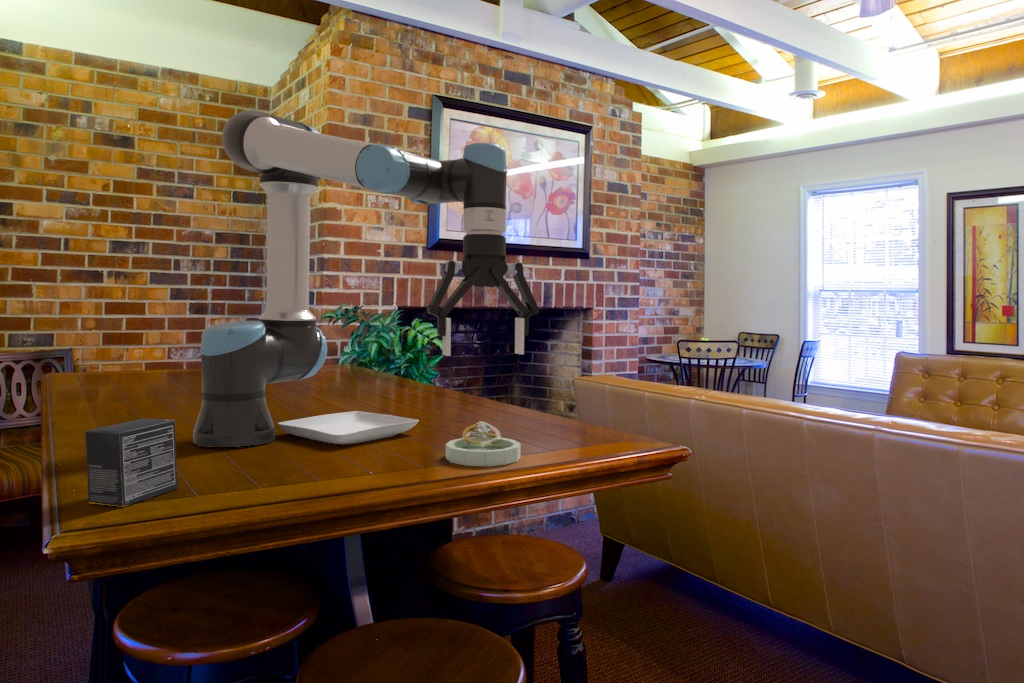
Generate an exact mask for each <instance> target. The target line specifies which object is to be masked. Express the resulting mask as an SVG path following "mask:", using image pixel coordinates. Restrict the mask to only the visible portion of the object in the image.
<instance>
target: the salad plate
mask: <svg viewBox="0 0 1024 683" xmlns="http://www.w3.org/2000/svg"><path fill="white" fill-rule="evenodd" d="M418 423H419V419H417V418H416V419H415V418H409V417H405V416H404V417H403V416H397V415H393V414H392V415H390V414H386V413H385V414H383V413H375V412H369V411H360V410H353V411H346V412H344V411H343V412H336V413H329V414H328V413H327V414H320V415H314V416H308V417H304V418H297V419H291V420H285V421H279V422H277V423H276V425H277V427H279V428H280V429H281V430H282V431H284V432H285V433H288V434H290V435H293V436H296V437H299V438H303V437H304V439H307V438H308V440H312V441H316V440H317V441H316V442H321V441H322V442H321V443H326V442H327V444H331V443H333V444H332V445H337V444H340V445H339V446H342V445H343V446H345V445H346V444H347V445H352V444H353V445H354V444H359V443H365V442H370V441H375V440H379V439H384V438H385V439H386V438H391V437H394V436H396V435H398V434H402V433H404V432H406V431H409V430H411V429H412V428H413V427H415V426H416V425H417V424H418ZM347 445H346V446H347Z"/></svg>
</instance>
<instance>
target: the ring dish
mask: <svg viewBox="0 0 1024 683" xmlns="http://www.w3.org/2000/svg"><path fill="white" fill-rule="evenodd" d="M468 438H469V439H470V440H473V441H481V440H484V441H488V440H492V439H494V438H493V437H489V436H486V437H480V436H473V437H472V436H471V437H470V436H468ZM521 444H522V443H520V442H518V441H517V440H515V439H511V438H506V437H505V438H504V437H501V440H500V442H498V443H496V444H493V445H489V446H485V447H477V446H471V445H468V444H466V443H465V442H464V441H463V437H461V438H455V439H451V440H449V441H448V442H447V443H445V459H446V460H447V461H449V463H451V464H456V465H461V466H465V467H466V466H470V467H495V466H496V467H497V466H506V465H510V464H513V463H516V462H519V460H520V459H521V455H522V454H521V450H522V449H521Z"/></svg>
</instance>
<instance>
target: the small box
mask: <svg viewBox="0 0 1024 683" xmlns="http://www.w3.org/2000/svg"><path fill="white" fill-rule="evenodd" d="M84 432H85V433H84V434H85V447H86V448H85V449H86V468H87V469H86V470H87V474H86V475H87V476H86V477H87V494H88V496H87V497H88V499H87V500H88V501H90V502H95V503H102V504H110V505H118V506H125V505H129V504H133V503H135V504H137V503H136V502H138V503H140V502H139V501H141V502H143V501H142V500H144V501H146V500H149V499H152V498H154V496H155V497H157V496H160V494H161V495H163V494H167V493H169V492H172V491H174V490H178V489H179V485H178V484H179V483H178V468H177V467H178V466H177V444H176V440H177V439H176V420H175V419H170V418H169V419H168V418H167V419H165V418H138V419H134V420H130V421H126V422H121V423H116V424H112V425H107V426H102V427H97V428H93V429H87V430H85V431H84ZM177 488H178V489H177ZM133 505H134V504H133Z"/></svg>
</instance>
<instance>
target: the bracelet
mask: <svg viewBox="0 0 1024 683" xmlns="http://www.w3.org/2000/svg"><path fill="white" fill-rule="evenodd" d="M491 431H492V432H493V433H491ZM489 432H490V433H489ZM470 436H475V437H493V438H494V439H492V440H488V441H484V440H481V441H473V440H470V439H469V438H468V437H470ZM462 438H463V441H464V442H465V443H466V444H468V445H471V446H477V447H485V446H489V445H493V444H496V443H498V442H500V440H501V438H502V436H501V432H500V430H499V429H498V428H496V427H495V426H493V425H492V424H490V423H488V422H485V421H483V420H481V421H480V420H479V421H477V422H476V423H474V424H471V425H469V426H467V427H465V429H464V430H463V431H462Z"/></svg>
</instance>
